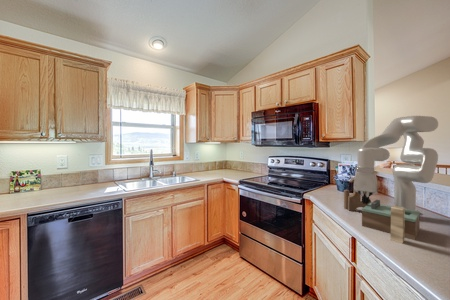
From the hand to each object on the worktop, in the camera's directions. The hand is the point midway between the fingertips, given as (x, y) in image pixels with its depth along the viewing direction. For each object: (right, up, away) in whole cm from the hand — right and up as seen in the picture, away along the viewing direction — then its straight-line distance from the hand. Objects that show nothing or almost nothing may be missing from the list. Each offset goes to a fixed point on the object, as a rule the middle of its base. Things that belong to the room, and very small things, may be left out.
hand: (365, 203), depth 107 cm
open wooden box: (+7, -12, -8) cm, 16 cm away
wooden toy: (+11, -11, +22) cm, 27 cm away
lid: (+7, -2, -8) cm, 11 cm away
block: (-1, -12, -21) cm, 24 cm away
